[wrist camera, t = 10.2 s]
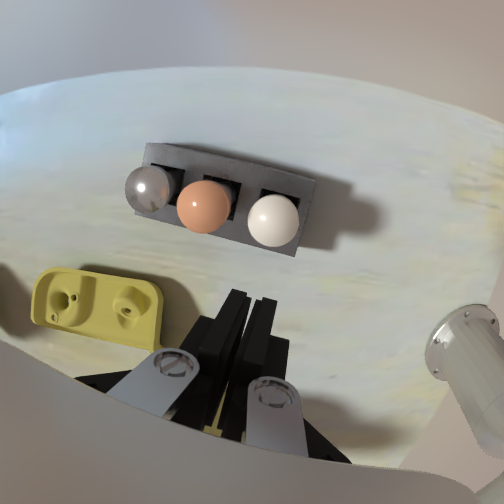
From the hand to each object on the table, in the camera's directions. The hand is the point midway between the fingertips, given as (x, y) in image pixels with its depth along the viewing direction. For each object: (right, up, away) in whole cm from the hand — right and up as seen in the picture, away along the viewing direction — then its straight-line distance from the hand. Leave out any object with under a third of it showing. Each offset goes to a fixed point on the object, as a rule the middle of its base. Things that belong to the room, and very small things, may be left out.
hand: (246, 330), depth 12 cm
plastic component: (-21, -4, +32) cm, 38 cm away
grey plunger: (-8, +11, +25) cm, 28 cm away
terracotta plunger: (-3, +9, +23) cm, 25 cm away
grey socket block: (-3, +9, +25) cm, 27 cm away
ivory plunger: (+3, +8, +24) cm, 26 cm away
